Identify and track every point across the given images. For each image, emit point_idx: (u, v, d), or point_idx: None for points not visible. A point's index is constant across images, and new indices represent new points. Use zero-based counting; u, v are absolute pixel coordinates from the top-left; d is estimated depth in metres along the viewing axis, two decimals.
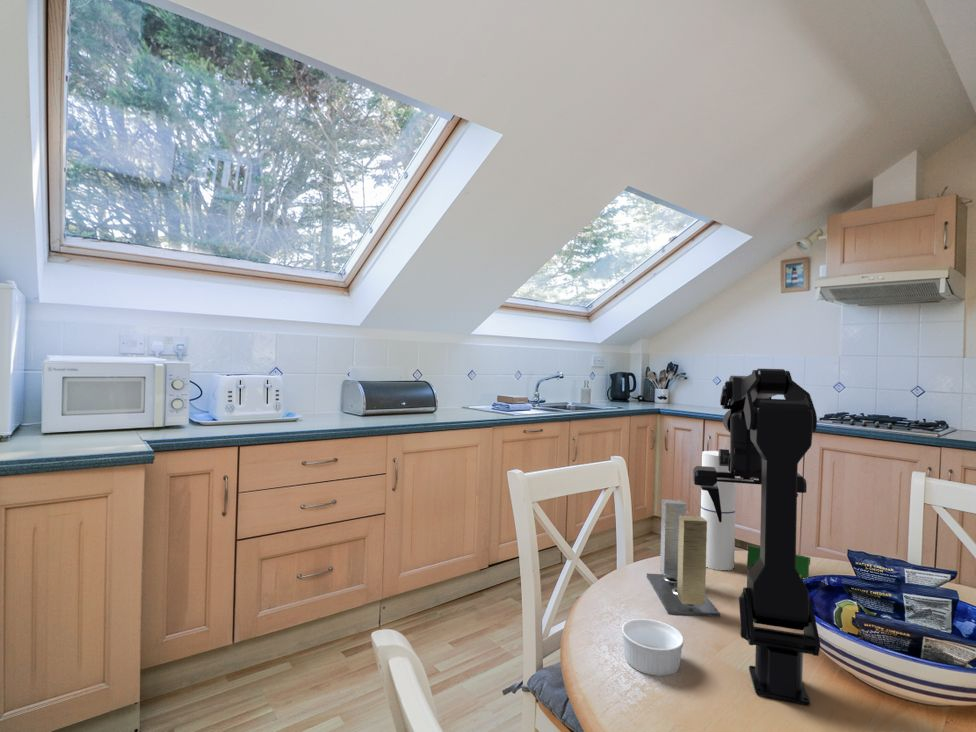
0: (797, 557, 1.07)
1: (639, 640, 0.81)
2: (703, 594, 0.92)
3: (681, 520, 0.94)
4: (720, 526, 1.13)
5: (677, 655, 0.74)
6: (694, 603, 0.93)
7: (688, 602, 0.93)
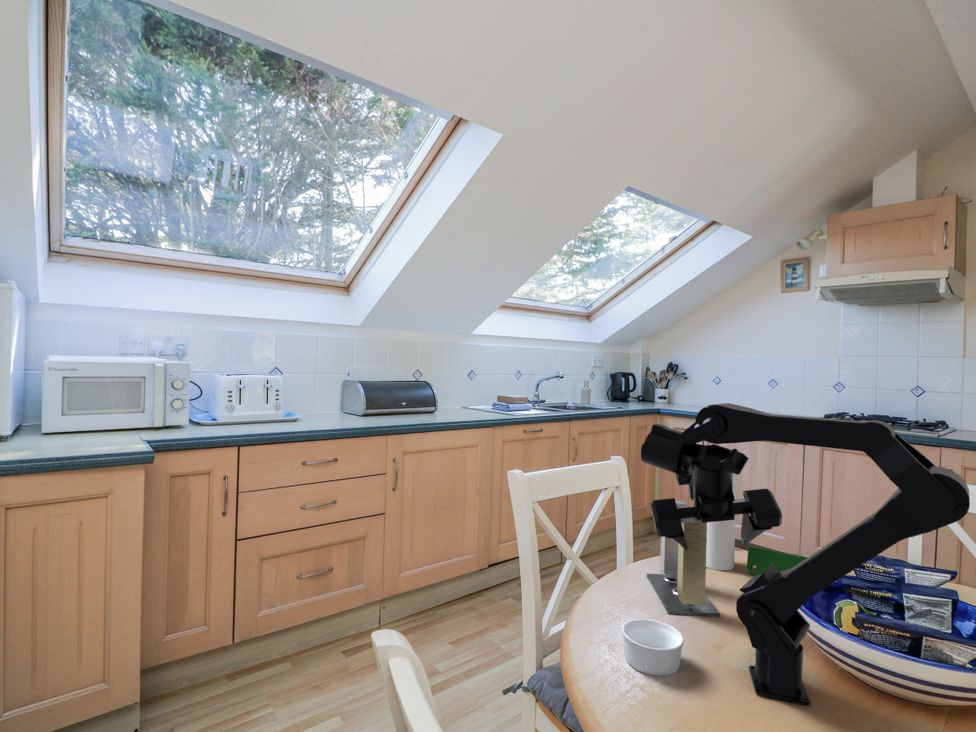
0: (797, 557, 1.07)
1: (639, 640, 0.81)
2: (703, 594, 0.92)
3: None
4: (720, 526, 1.13)
5: (677, 655, 0.74)
6: (694, 603, 0.93)
7: (688, 602, 0.93)
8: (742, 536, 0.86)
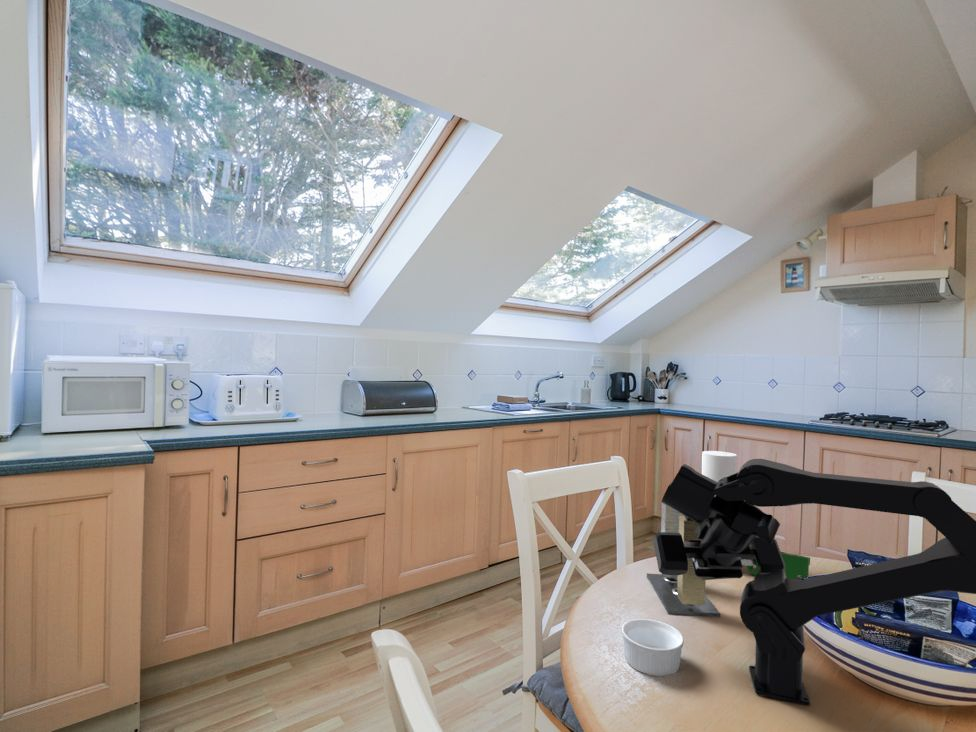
0: (797, 557, 1.07)
1: (639, 640, 0.81)
2: (703, 594, 0.92)
3: (681, 520, 0.94)
4: None
5: (677, 655, 0.74)
6: (694, 603, 0.93)
7: (688, 602, 0.93)
8: None
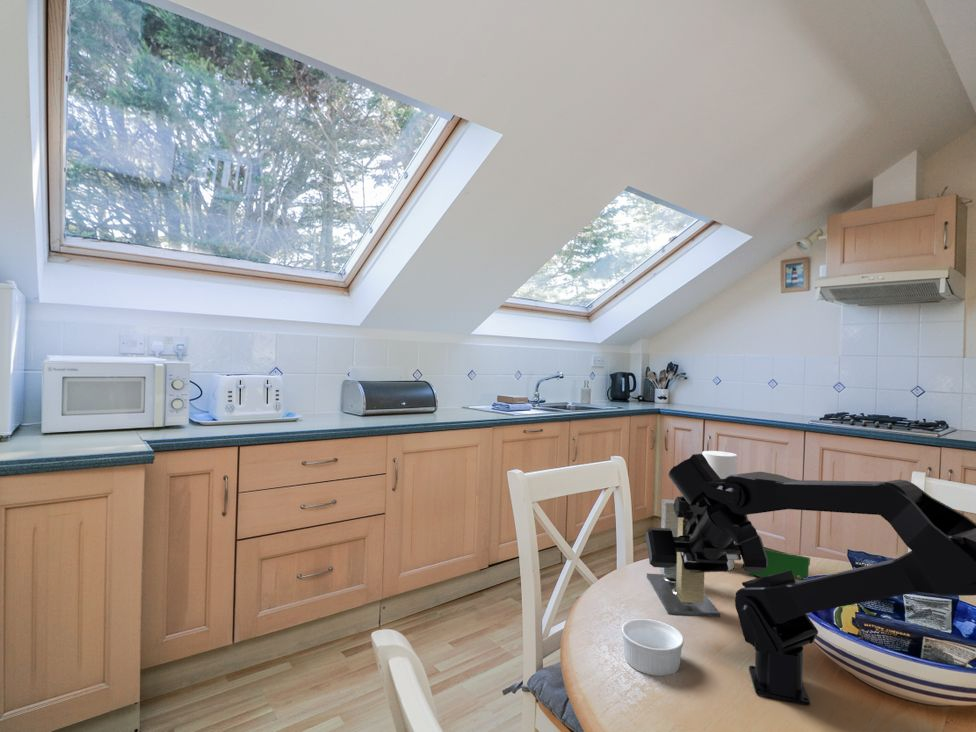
0: (797, 557, 1.06)
1: (639, 640, 0.81)
2: (702, 592, 0.93)
3: (680, 519, 0.95)
4: None
5: (677, 655, 0.74)
6: (693, 601, 0.93)
7: (687, 600, 0.93)
8: None
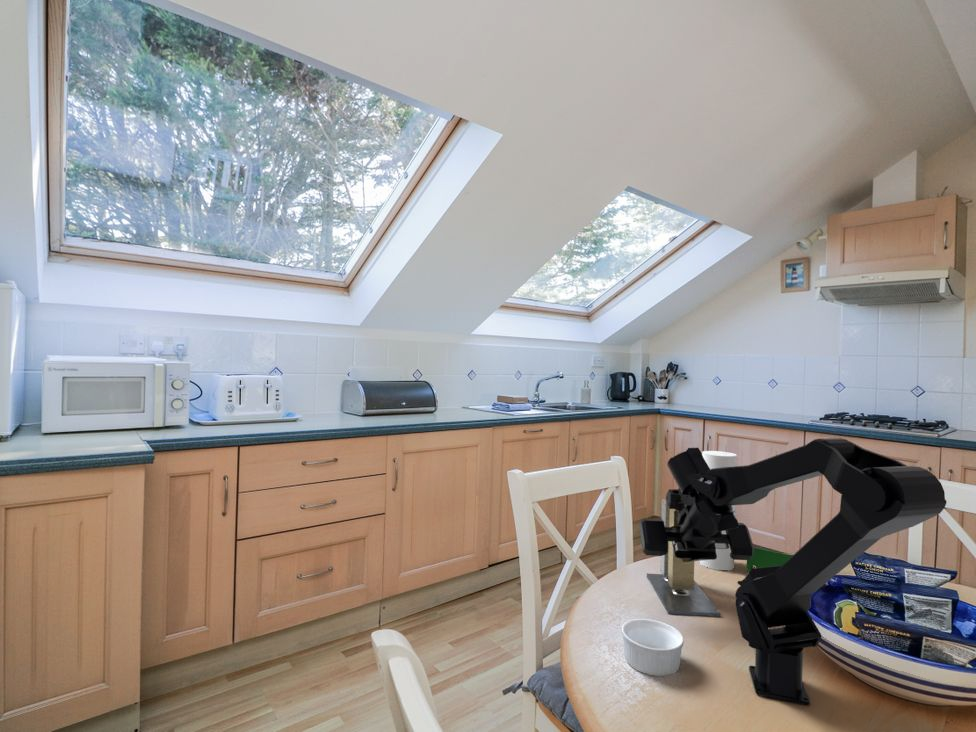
0: None
1: (639, 640, 0.81)
2: (692, 580, 0.99)
3: (671, 511, 1.00)
4: None
5: (677, 655, 0.74)
6: (683, 588, 0.99)
7: (678, 587, 0.99)
8: None
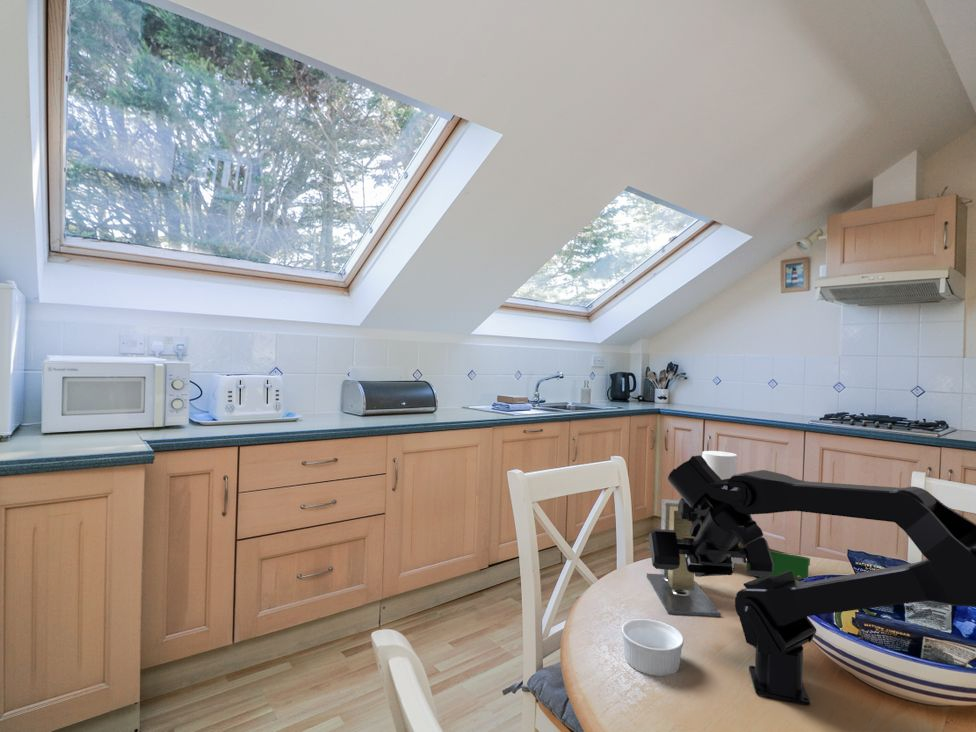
0: (797, 558, 1.06)
1: (639, 640, 0.81)
2: (692, 580, 0.99)
3: (671, 511, 1.00)
4: None
5: (677, 655, 0.74)
6: (683, 588, 0.99)
7: (678, 587, 0.99)
8: None
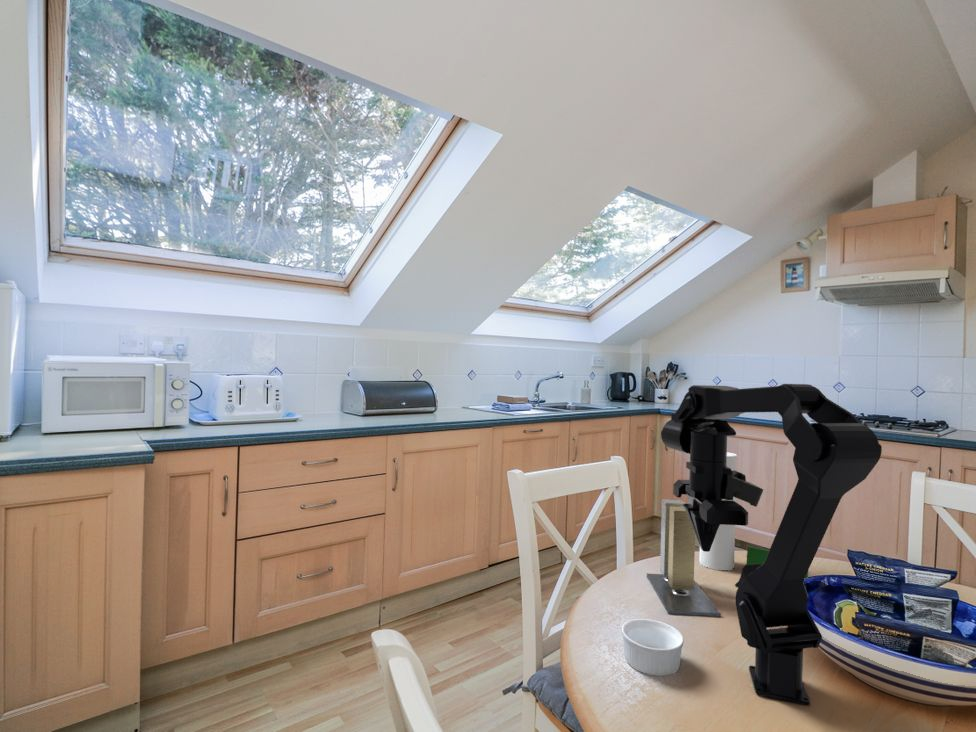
0: None
1: (639, 640, 0.81)
2: (692, 580, 0.99)
3: (671, 511, 1.00)
4: (720, 526, 1.13)
5: (677, 655, 0.74)
6: (683, 588, 0.99)
7: (678, 587, 0.99)
8: None
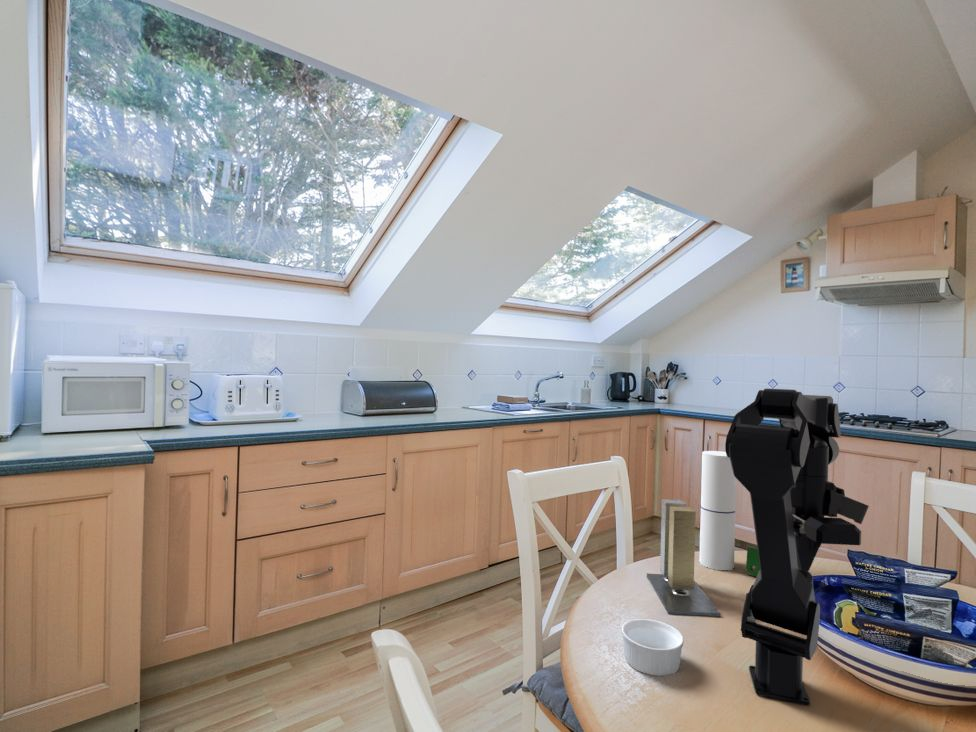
0: None
1: (639, 640, 0.81)
2: (692, 580, 0.99)
3: (671, 511, 1.00)
4: (720, 526, 1.13)
5: (677, 655, 0.74)
6: (683, 588, 0.99)
7: (678, 587, 0.99)
8: None
